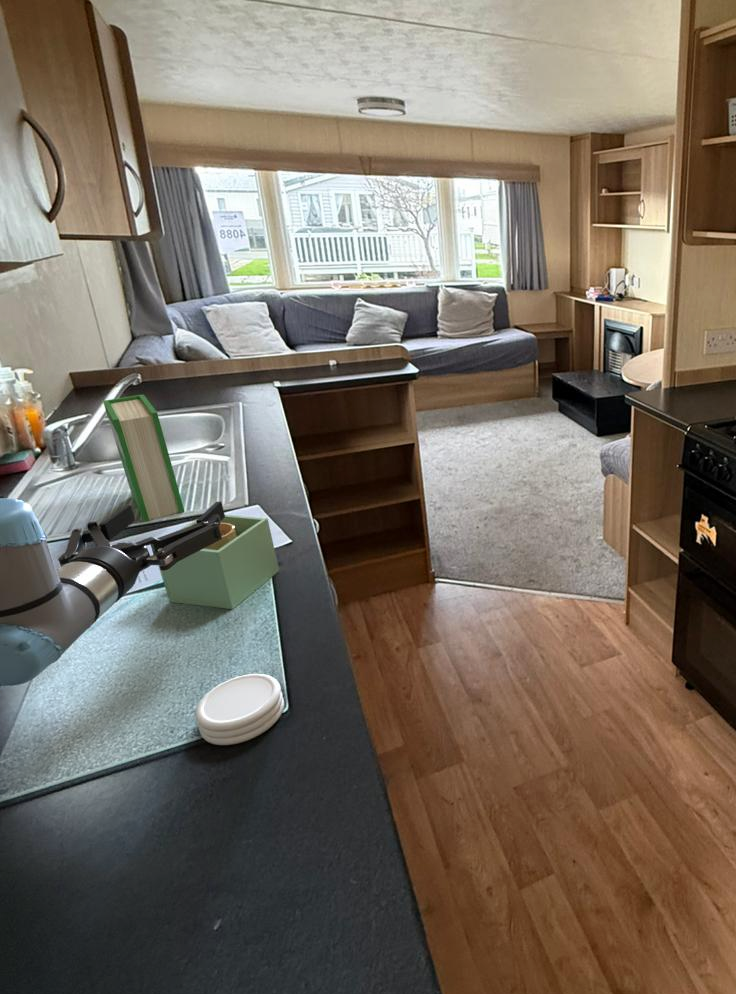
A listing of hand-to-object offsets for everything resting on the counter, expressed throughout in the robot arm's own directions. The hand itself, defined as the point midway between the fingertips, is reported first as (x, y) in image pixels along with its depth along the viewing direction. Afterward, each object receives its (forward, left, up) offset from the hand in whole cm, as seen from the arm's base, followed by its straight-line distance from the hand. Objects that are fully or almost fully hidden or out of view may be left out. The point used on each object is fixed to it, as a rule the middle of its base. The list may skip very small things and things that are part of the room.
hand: (176, 510), depth 102 cm
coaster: (+24, -21, -19) cm, 37 cm away
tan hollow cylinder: (-1, +7, -18) cm, 19 cm away
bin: (-1, +7, -19) cm, 20 cm away
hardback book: (-38, +32, -19) cm, 54 cm away
